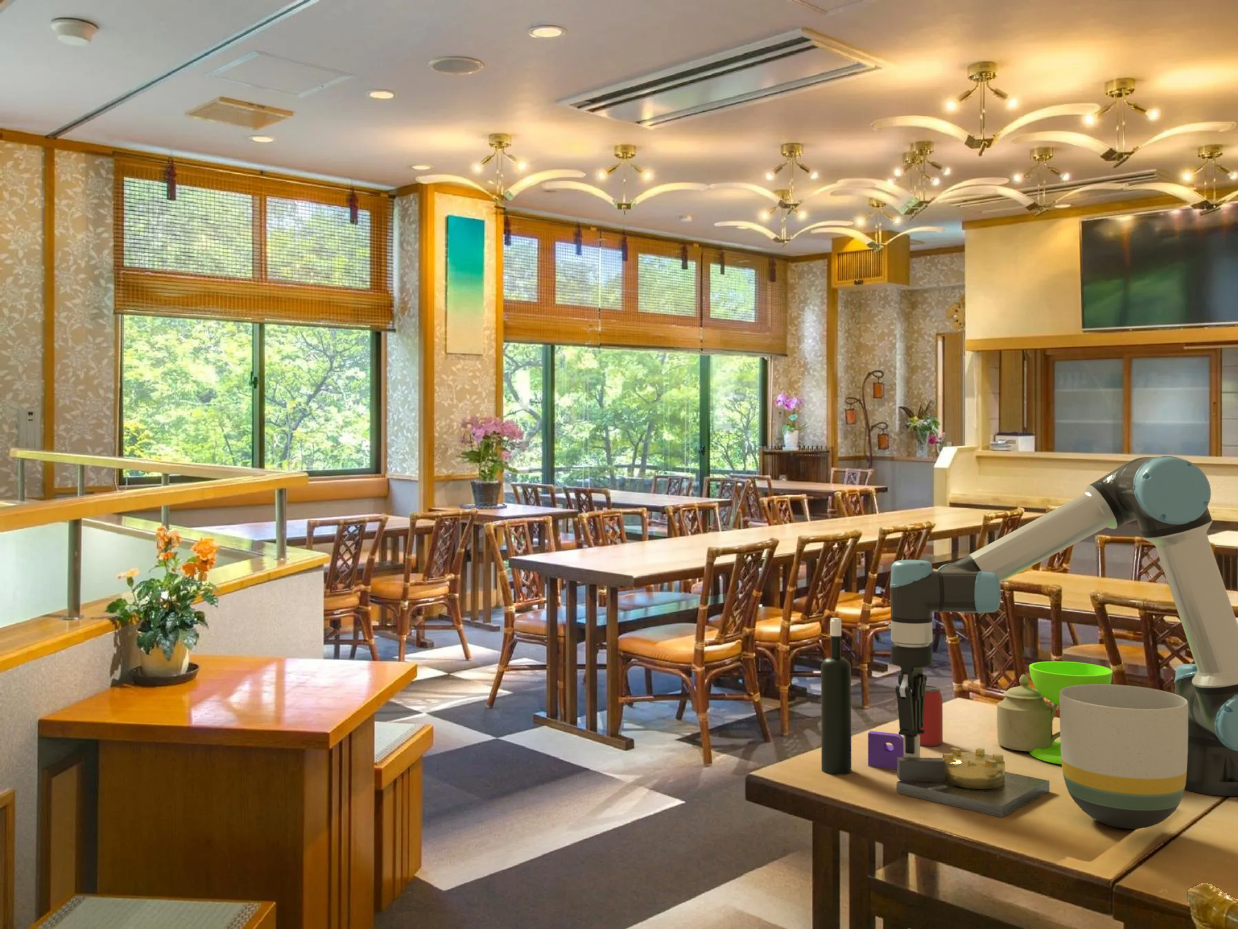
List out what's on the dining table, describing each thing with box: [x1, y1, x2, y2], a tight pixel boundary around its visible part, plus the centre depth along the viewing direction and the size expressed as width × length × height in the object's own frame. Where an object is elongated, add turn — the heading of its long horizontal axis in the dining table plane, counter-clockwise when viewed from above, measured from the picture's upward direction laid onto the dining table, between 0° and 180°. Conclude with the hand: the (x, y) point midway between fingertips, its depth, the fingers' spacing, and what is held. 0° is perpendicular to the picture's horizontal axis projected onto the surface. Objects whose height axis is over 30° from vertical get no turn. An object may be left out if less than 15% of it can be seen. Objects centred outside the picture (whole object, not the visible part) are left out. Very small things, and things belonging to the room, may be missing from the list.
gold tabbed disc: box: [896, 747, 1006, 789], centre depth 198 cm, size 19×11×5 cm, turn 86°
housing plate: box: [896, 771, 1050, 818], centre depth 198 cm, size 20×20×2 cm
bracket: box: [867, 730, 904, 770], centre depth 219 cm, size 12×7×7 cm, turn 155°
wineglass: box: [1028, 660, 1113, 765], centre depth 223 cm, size 16×16×18 cm
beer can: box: [918, 684, 944, 747], centre depth 232 cm, size 7×7×12 cm
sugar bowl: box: [996, 673, 1060, 752], centre depth 229 cm, size 15×11×15 cm
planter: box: [1059, 683, 1188, 830], centre depth 181 cm, size 20×20×21 cm
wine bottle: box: [820, 617, 852, 775], centre depth 212 cm, size 6×6×30 cm
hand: (911, 769), depth 201 cm, fingers closed
